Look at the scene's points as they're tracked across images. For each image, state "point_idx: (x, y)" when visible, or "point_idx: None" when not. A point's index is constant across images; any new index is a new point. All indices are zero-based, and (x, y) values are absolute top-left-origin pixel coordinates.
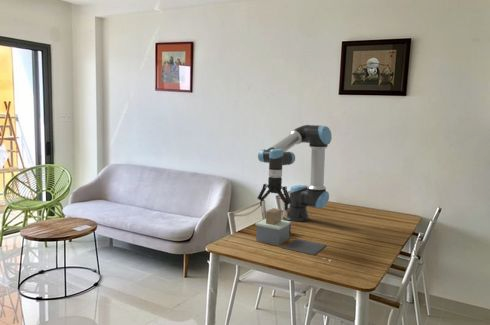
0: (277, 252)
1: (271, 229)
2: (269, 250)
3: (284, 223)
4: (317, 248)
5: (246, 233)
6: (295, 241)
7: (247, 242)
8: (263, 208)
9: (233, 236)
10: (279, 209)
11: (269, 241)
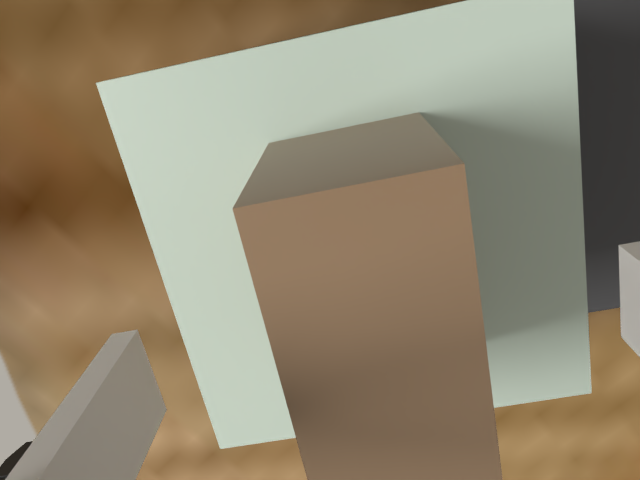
0: (590, 409)
1: None
2: (510, 417)
3: (538, 173)
4: None
5: (27, 221)
6: (608, 63)
7: None
8: (130, 426)
9: (35, 372)
10: (429, 203)
11: None
